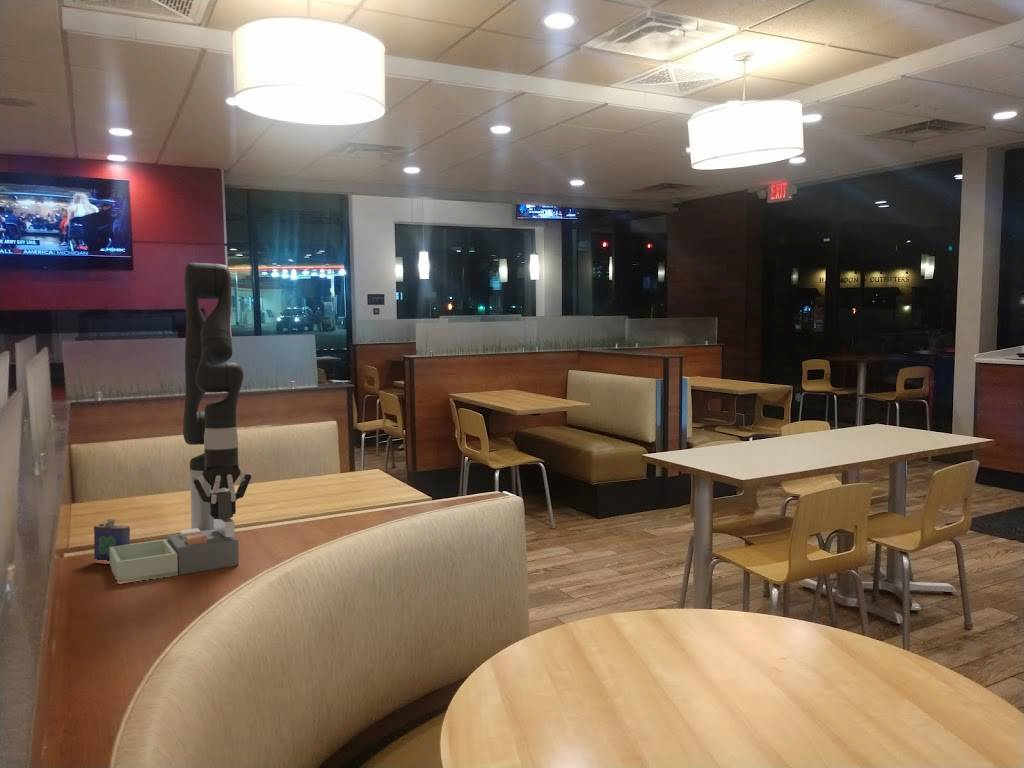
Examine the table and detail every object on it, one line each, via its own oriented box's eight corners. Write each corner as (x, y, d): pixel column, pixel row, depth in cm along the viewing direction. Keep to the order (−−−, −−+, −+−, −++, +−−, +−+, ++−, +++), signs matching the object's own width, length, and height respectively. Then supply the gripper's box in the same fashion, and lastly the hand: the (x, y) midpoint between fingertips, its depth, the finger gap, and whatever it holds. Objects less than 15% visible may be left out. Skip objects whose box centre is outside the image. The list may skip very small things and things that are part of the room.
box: (110, 568, 173) (109, 546, 173) (166, 559, 180) (165, 539, 180) (117, 585, 161) (117, 562, 160) (177, 575, 167) (177, 553, 167)
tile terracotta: (185, 541, 174) (185, 536, 174) (203, 538, 176) (203, 533, 176) (188, 545, 170) (188, 539, 170) (207, 542, 172) (207, 537, 172)
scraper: (211, 528, 183) (210, 490, 183) (224, 527, 185) (223, 488, 185) (223, 537, 173) (222, 496, 173) (236, 535, 175) (235, 495, 175)
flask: (133, 562, 177) (131, 518, 177) (124, 566, 175) (122, 521, 174) (99, 560, 179) (98, 516, 179) (90, 564, 176) (88, 519, 176)
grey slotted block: (168, 560, 180) (167, 535, 179) (224, 551, 187) (224, 528, 186) (178, 574, 168) (178, 548, 168) (238, 565, 175) (238, 539, 175)
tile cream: (179, 535, 179) (179, 530, 179) (197, 532, 182) (197, 528, 182) (183, 538, 176) (182, 533, 176) (201, 536, 178) (200, 531, 178)
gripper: (247, 442, 186) (248, 511, 187) (186, 446, 178) (188, 518, 179) (255, 445, 179) (256, 516, 180) (193, 450, 172) (194, 524, 172)
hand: (222, 517), depth 179 cm, fingers closed on scraper, 3 cm apart
